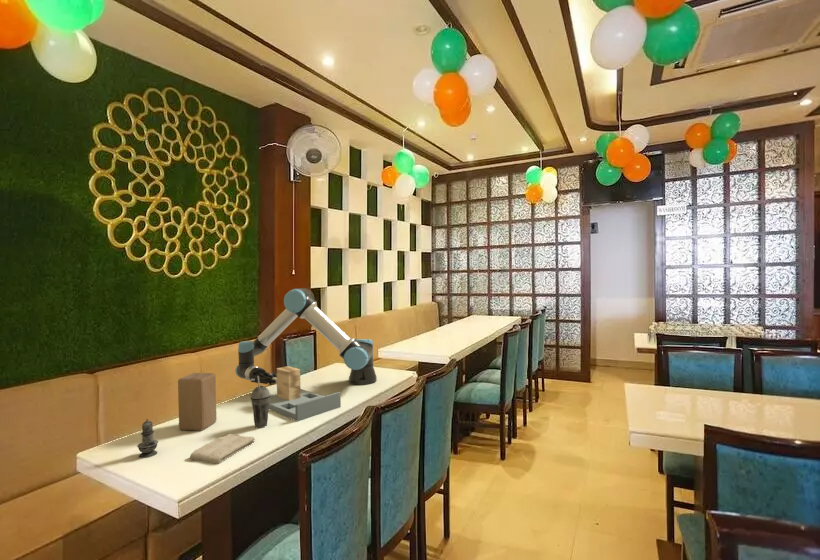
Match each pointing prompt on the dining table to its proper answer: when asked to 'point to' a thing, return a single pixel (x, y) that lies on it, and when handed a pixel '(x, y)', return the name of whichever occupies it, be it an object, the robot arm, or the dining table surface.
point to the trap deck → (305, 405)
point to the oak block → (288, 383)
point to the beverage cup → (260, 405)
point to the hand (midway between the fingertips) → (280, 382)
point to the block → (197, 401)
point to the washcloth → (221, 448)
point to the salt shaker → (147, 441)
